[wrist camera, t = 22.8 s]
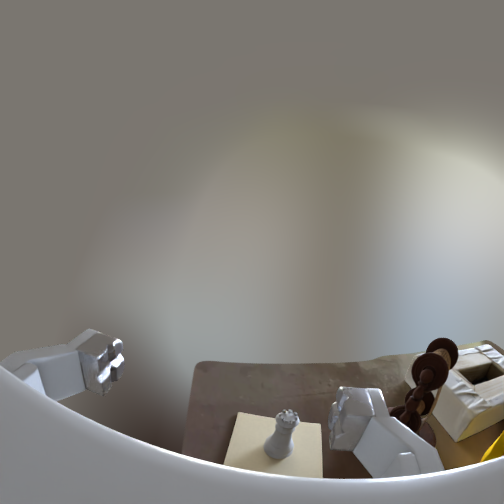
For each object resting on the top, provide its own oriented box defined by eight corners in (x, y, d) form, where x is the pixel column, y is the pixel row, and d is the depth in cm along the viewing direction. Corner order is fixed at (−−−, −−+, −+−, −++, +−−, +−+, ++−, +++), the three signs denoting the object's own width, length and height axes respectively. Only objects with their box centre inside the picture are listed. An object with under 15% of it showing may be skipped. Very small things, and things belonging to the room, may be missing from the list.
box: (456, 446, 34) (527, 405, 39) (476, 415, 32) (542, 379, 37) (400, 382, 57) (478, 365, 61) (412, 353, 55) (488, 341, 60)
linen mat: (219, 476, 31) (220, 475, 31) (238, 413, 44) (238, 411, 44) (322, 490, 29) (322, 488, 29) (320, 425, 43) (320, 424, 43)
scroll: (407, 488, 27) (478, 388, 23) (336, 444, 38) (380, 342, 34) (439, 438, 37) (490, 346, 32) (379, 406, 48) (417, 315, 43)
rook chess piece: (285, 464, 34) (298, 431, 32) (257, 452, 36) (266, 418, 34) (296, 446, 38) (310, 411, 36) (270, 435, 39) (280, 400, 38)
